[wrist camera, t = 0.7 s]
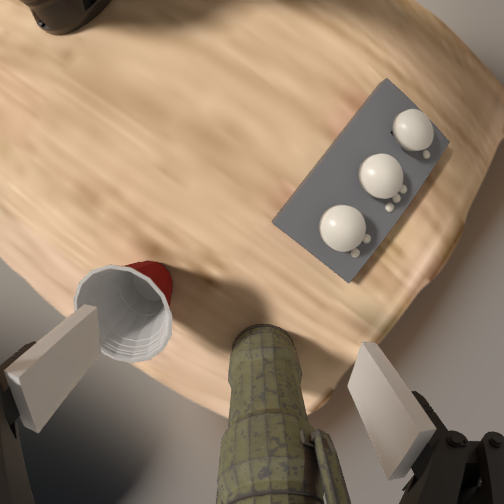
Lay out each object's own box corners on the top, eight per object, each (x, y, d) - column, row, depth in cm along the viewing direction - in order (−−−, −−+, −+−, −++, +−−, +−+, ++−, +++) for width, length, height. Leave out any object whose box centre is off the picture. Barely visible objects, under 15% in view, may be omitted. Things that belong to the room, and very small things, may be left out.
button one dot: (378, 133, 33) (391, 128, 29) (397, 107, 32) (411, 100, 28) (406, 160, 34) (421, 158, 30) (424, 134, 33) (439, 130, 29)
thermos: (212, 361, 41) (166, 607, 7) (265, 303, 39) (297, 600, 5) (260, 391, 43) (269, 619, 8) (314, 339, 41) (401, 586, 6)
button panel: (271, 221, 37) (273, 224, 34) (379, 83, 33) (387, 77, 30) (343, 277, 39) (349, 284, 36) (439, 143, 35) (450, 141, 32)
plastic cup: (182, 329, 40) (159, 379, 29) (111, 303, 40) (70, 341, 28) (203, 257, 38) (183, 288, 26) (126, 230, 37) (80, 249, 26)
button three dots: (344, 178, 34) (355, 178, 30) (367, 148, 33) (380, 144, 30) (374, 205, 35) (387, 207, 31) (395, 175, 34) (410, 174, 30)
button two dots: (306, 227, 36) (312, 232, 32) (332, 194, 35) (341, 196, 31) (337, 252, 36) (346, 260, 32) (362, 221, 35) (374, 225, 32)
